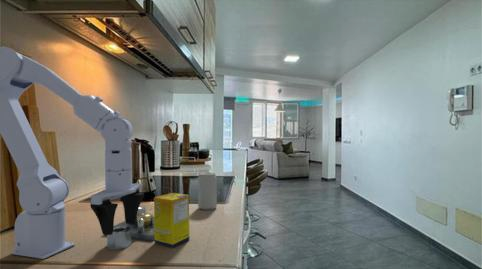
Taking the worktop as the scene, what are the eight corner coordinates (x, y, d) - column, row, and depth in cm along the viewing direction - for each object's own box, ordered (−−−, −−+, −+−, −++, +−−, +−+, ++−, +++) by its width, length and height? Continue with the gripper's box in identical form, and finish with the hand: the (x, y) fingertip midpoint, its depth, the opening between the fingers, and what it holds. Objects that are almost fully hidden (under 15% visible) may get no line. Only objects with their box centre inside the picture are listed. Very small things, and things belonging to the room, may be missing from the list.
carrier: (103, 234, 74) (103, 214, 74) (138, 219, 87) (138, 201, 87) (153, 240, 70) (153, 219, 70) (181, 223, 83) (181, 205, 83)
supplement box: (171, 235, 73) (171, 192, 73) (190, 239, 70) (189, 194, 70) (153, 243, 68) (153, 196, 68) (172, 248, 65) (172, 199, 65)
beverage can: (218, 205, 102) (218, 172, 102) (214, 210, 96) (214, 174, 96) (200, 205, 103) (200, 171, 103) (196, 210, 97) (195, 174, 97)
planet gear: (102, 248, 65) (102, 232, 65) (117, 240, 70) (117, 225, 70) (120, 250, 64) (120, 234, 64) (135, 242, 69) (135, 227, 69)
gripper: (110, 174, 59) (111, 241, 59) (152, 166, 73) (152, 220, 73) (82, 173, 61) (83, 238, 61) (128, 165, 75) (129, 218, 75)
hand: (119, 228), depth 67 cm, fingers open, 7 cm apart
